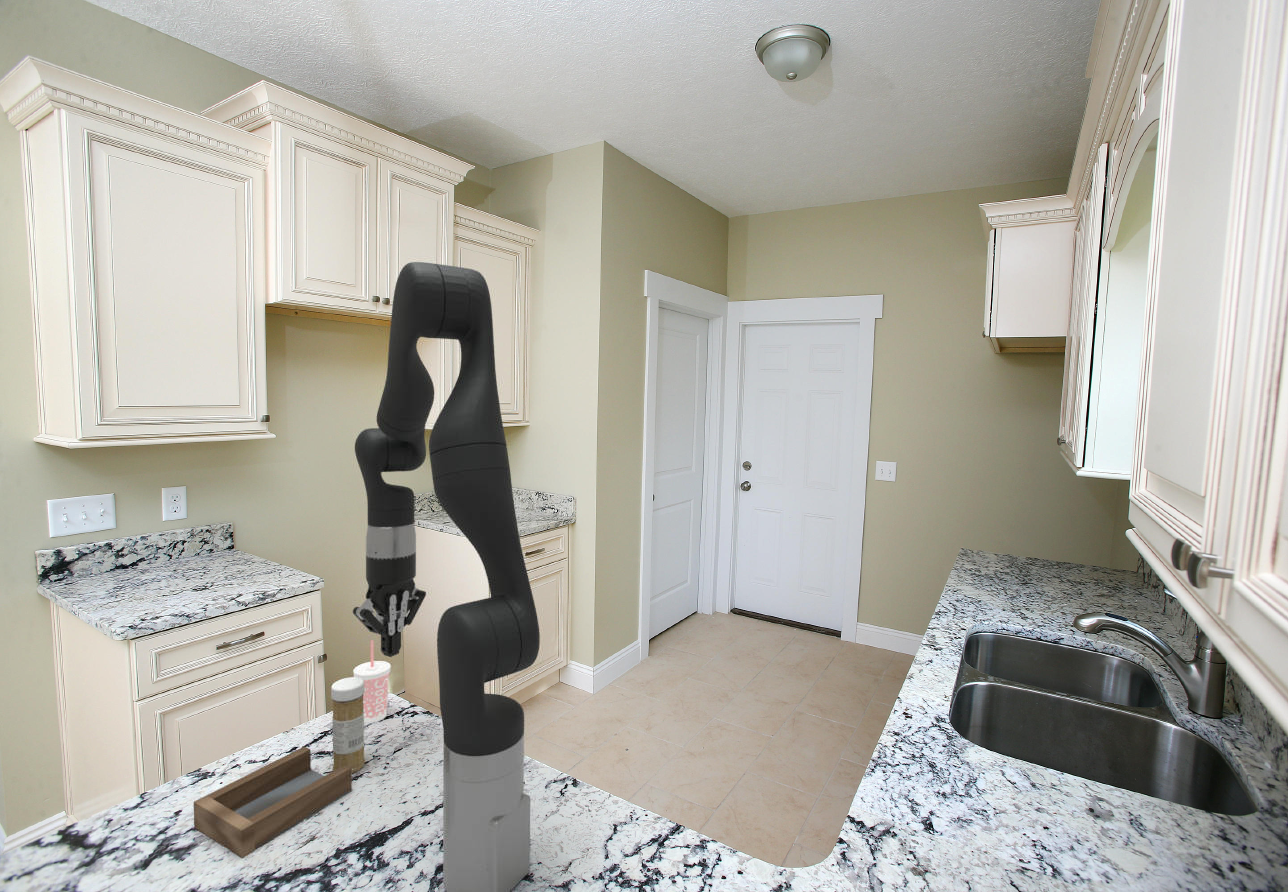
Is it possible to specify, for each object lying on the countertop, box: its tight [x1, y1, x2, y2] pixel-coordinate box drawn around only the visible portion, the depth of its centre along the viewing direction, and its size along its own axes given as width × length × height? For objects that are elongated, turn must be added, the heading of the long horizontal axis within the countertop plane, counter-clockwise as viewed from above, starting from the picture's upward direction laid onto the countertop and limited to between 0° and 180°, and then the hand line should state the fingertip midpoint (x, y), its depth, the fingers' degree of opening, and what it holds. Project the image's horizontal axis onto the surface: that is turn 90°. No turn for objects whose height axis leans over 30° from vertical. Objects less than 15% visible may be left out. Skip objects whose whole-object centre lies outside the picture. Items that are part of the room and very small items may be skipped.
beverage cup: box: [353, 639, 392, 724], centre depth 107 cm, size 6×6×14 cm
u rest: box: [193, 746, 353, 859], centre depth 83 cm, size 11×15×4 cm
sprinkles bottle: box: [330, 676, 366, 774], centre depth 92 cm, size 5×5×14 cm
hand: (391, 654), depth 99 cm, fingers closed
